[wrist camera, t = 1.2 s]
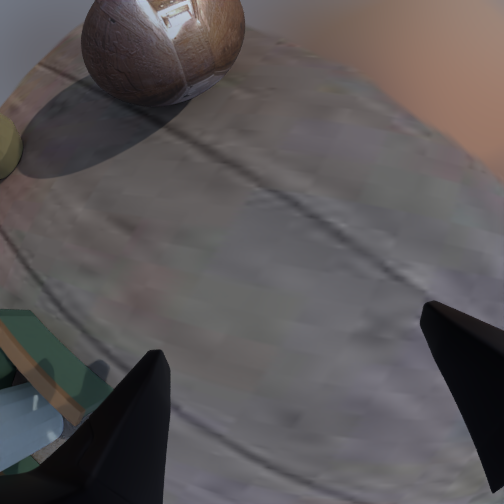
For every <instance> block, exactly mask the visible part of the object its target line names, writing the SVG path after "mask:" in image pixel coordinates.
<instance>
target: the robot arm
mask: <svg viewBox="0 0 504 504" xmlns="http://www.w3.org/2000/svg"><path fill="white" fill-rule="evenodd" d="M420 327H421V329H422V332H423V334H424V336H425V338H426V341H427V343H428V346H429V348H430V350H431V353H432V355H433V358H434V360H435V362H436V364H437V366H438V368H439V370H440V372H441V374H442V375H443V377H444V379H445V381H446V383H447V385H448V387H449V389H450V391H451V393H452V395H453V398H454V400H455V402H456V404H457V406H458V408H459V410H460V412H461V415H462V417H463V419H464V421H465V424H466V426H467V428H468V430H469V433H470V435H471V438H472V440H473V442H474V445H475V447H476V449H477V453H478V455H479V458H480V460H481V463H482V466H483V468H484V471H485V474H486V477H487V480H488V483H489V486H490V489H491V491H492V493H495V492H496V491H498V490H499V489H500V488H502V487H503V486H504V331H503V330H501V329H499V328H497V327H494V326H492V325H490V324H488V323H485V322H483V321H481V320H479V319H476V318H474V317H472V316H470V315H467V314H465V313H463V312H460V311H458V310H456V309H454V308H451V307H449V306H447V305H444V304H442V303H440V302H437V301H430V302H427V303H425V304H424V306H423V310H422V315H421V319H420ZM169 422H170V367H169V364H168V362H167V360H166V358H165V355H164V353H163V351H162V350H160V349H158V350H150V351H148V352H147V353H146V354H145V355H144V357H143V358H142V359H141V360H140V361H139V362H138V363H137V364H136V365H135V366H134V368H133V369H132V370H131V371H130V372H129V373H128V374H127V375H126V376H125V378H124V379H123V380H122V381H121V382H120V383H119V384H118V385H117V386H116V387H115V389H114V390H113V391H112V392H111V393H110V394H109V395H108V396H107V397H106V399H105V400H104V401H103V402H102V403H101V404H100V405H99V406H98V407H97V409H96V410H95V411H94V412H93V413H92V414H91V415H90V416H89V419H87V420H86V421H85V422H84V423H83V424H82V425H81V426H80V427H79V428H78V430H77V431H76V432H75V433H74V434H73V435H72V436H71V437H70V438H69V439H68V440H67V441H66V442H65V443H64V444H62V445H61V446H60V447H59V448H58V449H57V450H56V451H55V452H54V453H53V454H51V455H50V456H49V457H48V458H47V459H46V460H45V461H44V462H43V463H41V464H40V465H39V466H38V467H36V468H35V469H33V470H31V471H28V472H24V473H18V474H10V475H2V476H0V504H163V489H164V475H165V463H166V451H167V441H168V431H169Z"/></svg>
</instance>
